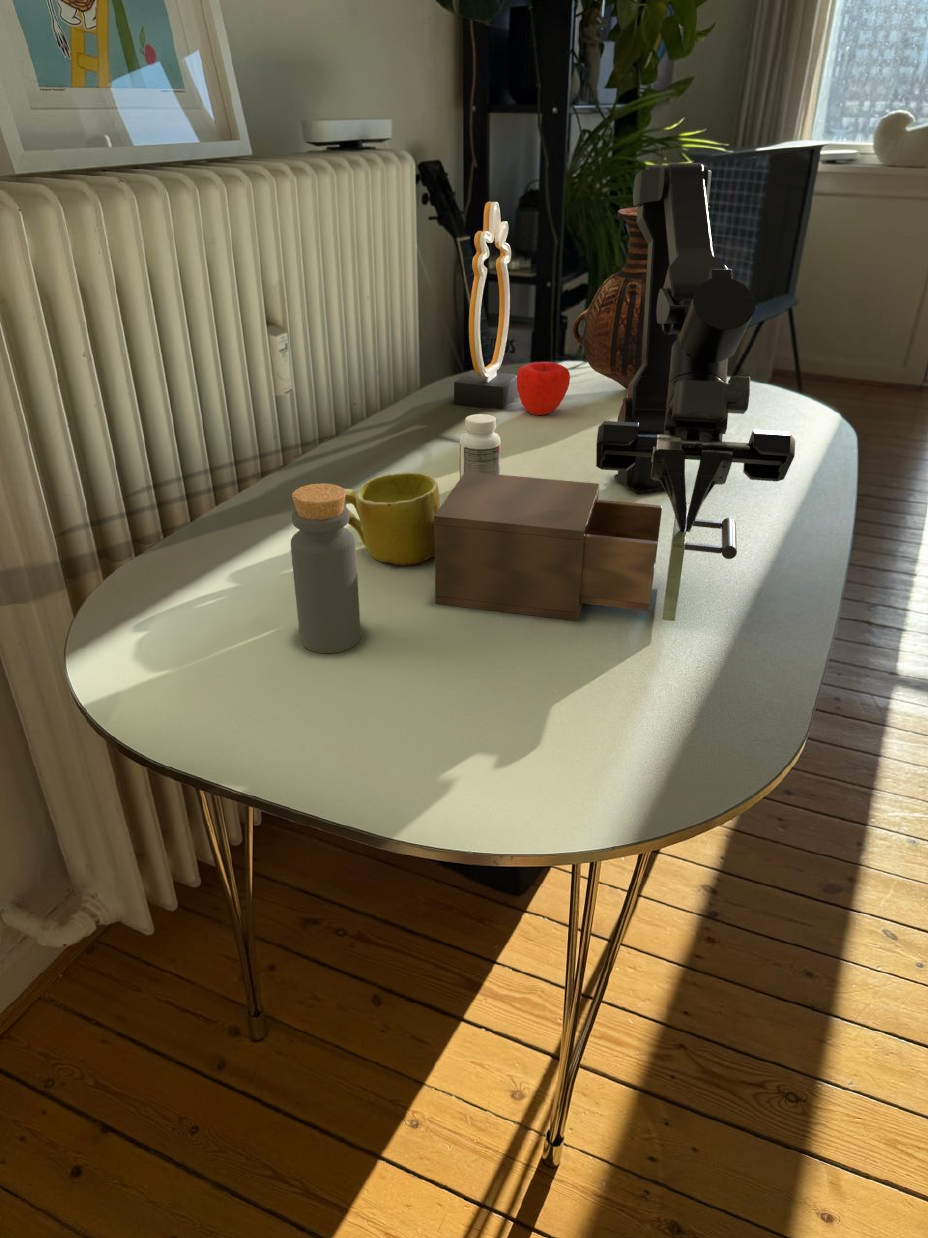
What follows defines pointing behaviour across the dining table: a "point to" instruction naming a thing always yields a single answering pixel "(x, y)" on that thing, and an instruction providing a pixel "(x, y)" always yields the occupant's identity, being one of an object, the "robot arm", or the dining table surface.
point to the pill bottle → (480, 445)
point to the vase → (618, 313)
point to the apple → (542, 386)
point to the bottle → (325, 570)
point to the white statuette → (482, 381)
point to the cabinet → (513, 544)
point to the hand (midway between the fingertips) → (685, 530)
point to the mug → (396, 517)
